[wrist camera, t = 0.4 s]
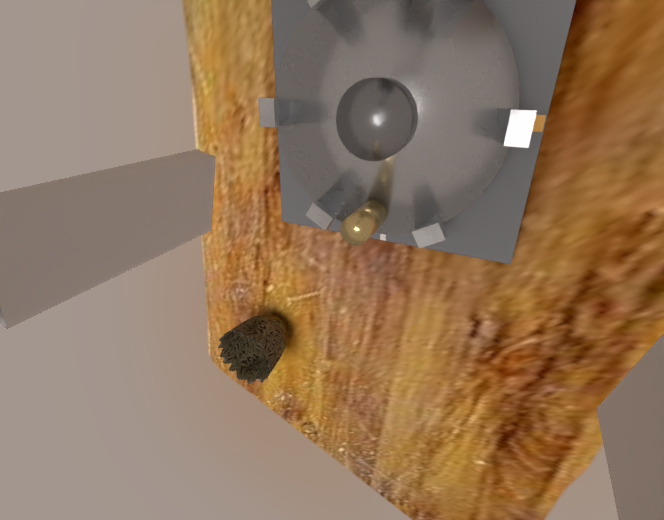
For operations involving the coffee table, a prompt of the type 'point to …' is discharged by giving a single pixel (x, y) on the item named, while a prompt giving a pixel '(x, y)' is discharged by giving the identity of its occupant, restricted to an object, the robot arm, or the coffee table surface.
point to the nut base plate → (518, 166)
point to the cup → (254, 347)
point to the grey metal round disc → (396, 112)
